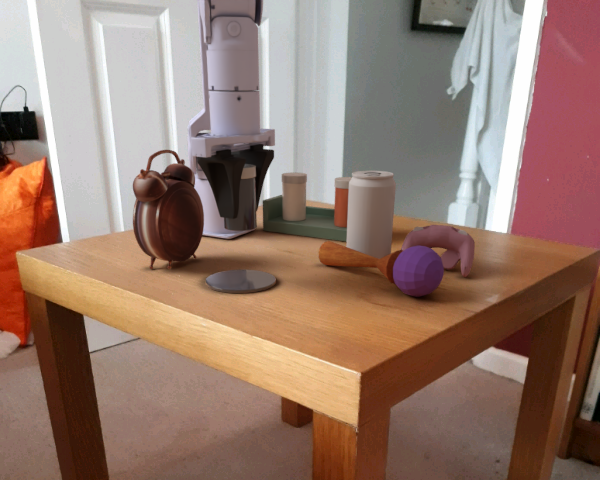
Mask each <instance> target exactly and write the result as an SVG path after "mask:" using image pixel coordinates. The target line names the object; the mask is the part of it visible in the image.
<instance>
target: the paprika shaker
mask: <svg viewBox="0 0 600 480" xmlns="http://www.w3.org/2000/svg"><path fill="white" fill-rule="evenodd" d="M352 177H353V176H339V177H336V178H334V204H333V205H334V208H333V209H334V225H335V226H337V227H344V228H347V218H348V193H349V182H350V180H351V179H352Z"/></svg>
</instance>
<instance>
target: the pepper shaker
mask: <svg viewBox="0 0 600 480" xmlns="http://www.w3.org/2000/svg"><path fill="white" fill-rule="evenodd" d="M255 177H256V166H255V165H252V164H245V165H244V168H243V172H242V176H241V181H240V188H239V209H238V215H237V218H235V219H231V218H224V228H225V229H227V230H232V231H247V230H253V229H255V230H256V229H257V226H258V223H257V221H258V220H257V211H256V180H255ZM253 231H254V230H253Z"/></svg>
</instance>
